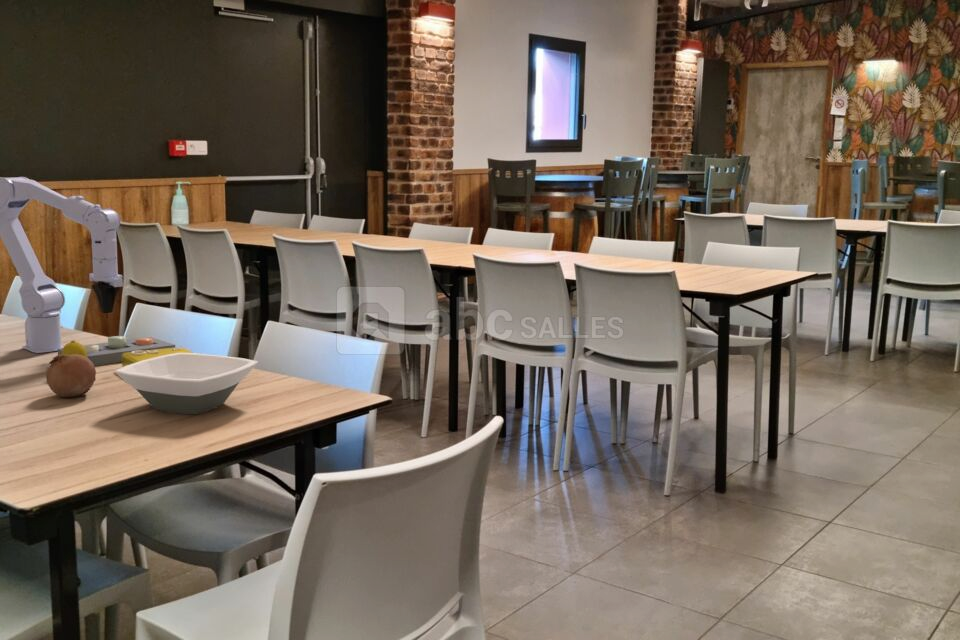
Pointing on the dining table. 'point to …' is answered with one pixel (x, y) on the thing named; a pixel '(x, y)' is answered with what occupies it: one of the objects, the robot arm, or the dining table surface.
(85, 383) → the onion
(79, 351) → the lemon
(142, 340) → the button terracotta
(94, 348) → the button ivory
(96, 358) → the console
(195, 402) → the bowl
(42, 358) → the dining table surface
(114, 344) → the button sage
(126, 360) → the element tile
